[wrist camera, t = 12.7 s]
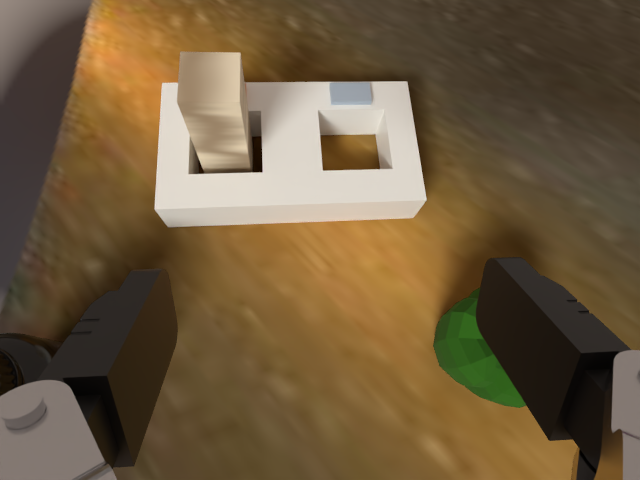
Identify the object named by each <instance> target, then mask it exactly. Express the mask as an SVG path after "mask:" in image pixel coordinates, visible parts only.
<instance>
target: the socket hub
mask: <svg viewBox="0 0 640 480" xmlns="http://www.w3.org/2000/svg"><path fill="white" fill-rule="evenodd" d="M245 90H246V97H247V104H248V112H249V119H250V126H251V133H252V136H262V166H263V172H255V173H217V174H199V158H198V155H197V153H196V150H195V147H194V145H193V142H192V140H191V137H190V134H189V132H188V129H187V127H186V124H185V122H184V119H183V116H182V114H181V111H180V109H179V106H178V103H177V92H178V83H162V94H161V111H160V127H159V144H158V161H157V177H156V194H155V211H156V212H157V213H158V215H159V216H160V217H161V219H162V220H163V221H164V223H165V224H166V225H167V226H168V227H188V226H215V225H241V224H268V223H294V222H321V221H348V220H374V219H401V218H413V217H414V216H415V215H416V214H417V212H418V211H419V210H420V208H421V207H422V206H423V204H424V203H425V202H426V200H427V199H426V193H425V187H424V181H423V175H422V168H421V162H420V156H419V150H418V144H417V138H416V132H415V126H414V120H413V114H412V107H411V101H410V95H409V89H408V83H407V81H390V82H245ZM358 134H376V141H377V149H378V157H379V164H380V169H370V170H332V171H323V167H322V154H321V142H320V135H358Z"/></svg>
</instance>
